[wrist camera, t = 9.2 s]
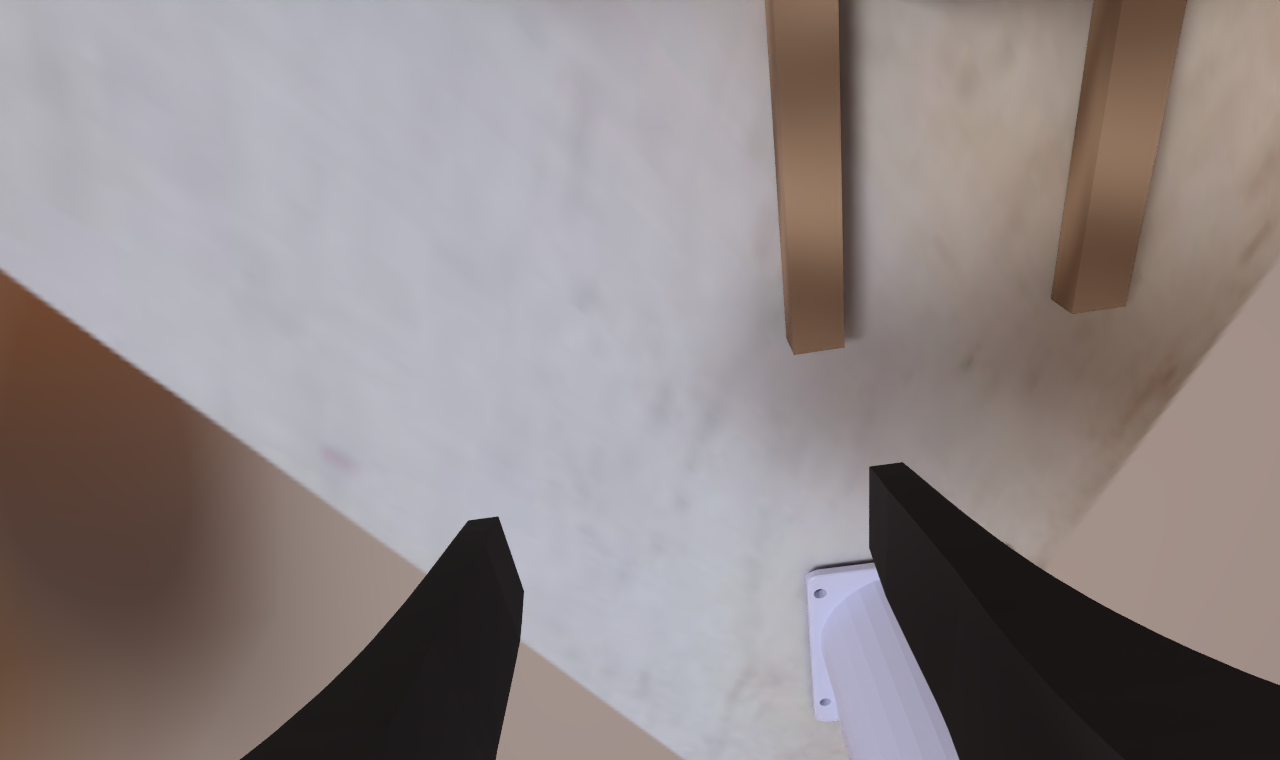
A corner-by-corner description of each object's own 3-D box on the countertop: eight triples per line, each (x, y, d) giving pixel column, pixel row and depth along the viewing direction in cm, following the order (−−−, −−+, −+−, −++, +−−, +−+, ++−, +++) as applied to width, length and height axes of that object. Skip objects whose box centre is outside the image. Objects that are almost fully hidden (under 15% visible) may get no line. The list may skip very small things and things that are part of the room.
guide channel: (1102, 291, 22) (1204, 354, 18) (786, 338, 23) (818, 408, 19) (1241, -481, 14) (1483, -673, 10) (741, -370, 15) (781, -506, 11)
